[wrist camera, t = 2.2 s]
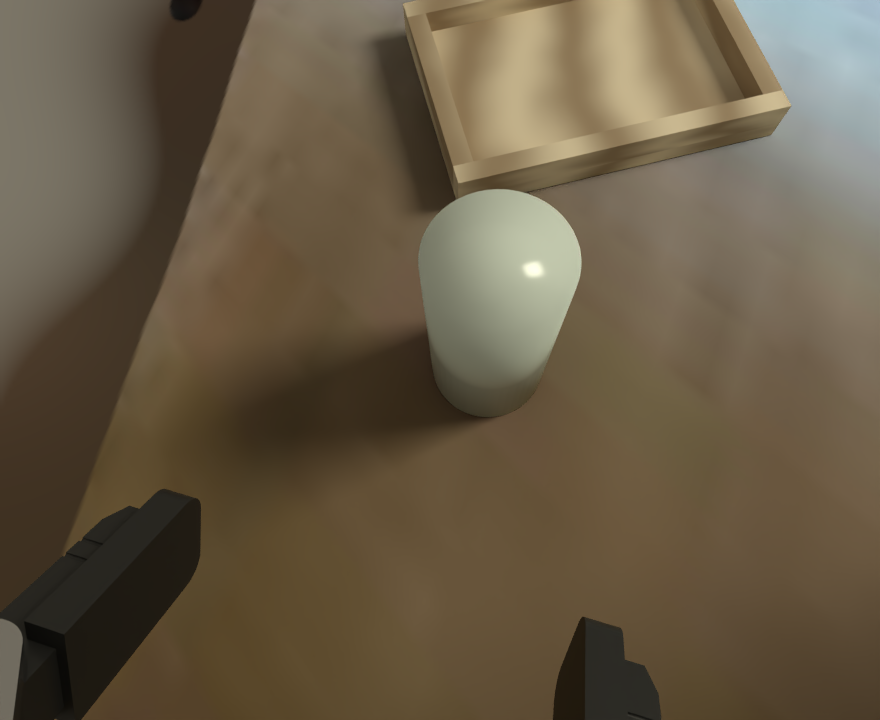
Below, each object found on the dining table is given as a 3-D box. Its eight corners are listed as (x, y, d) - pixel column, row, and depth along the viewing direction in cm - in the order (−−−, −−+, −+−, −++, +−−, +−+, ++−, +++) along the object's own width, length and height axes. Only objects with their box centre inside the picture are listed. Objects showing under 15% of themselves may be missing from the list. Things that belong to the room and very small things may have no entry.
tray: (687, -26, 43) (700, -61, 41) (771, 134, 39) (791, 105, 36) (406, 35, 42) (403, 3, 40) (458, 208, 38) (458, 183, 35)
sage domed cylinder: (523, 303, 36) (552, 173, 24) (555, 401, 34) (603, 311, 22) (421, 328, 35) (402, 209, 24) (447, 429, 33) (440, 351, 22)
